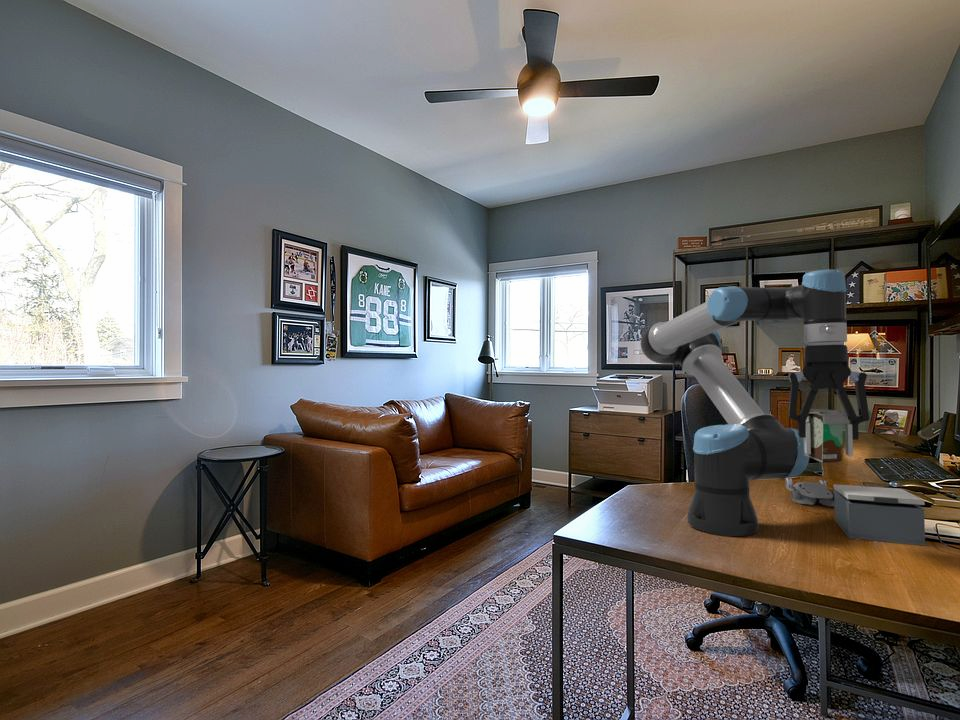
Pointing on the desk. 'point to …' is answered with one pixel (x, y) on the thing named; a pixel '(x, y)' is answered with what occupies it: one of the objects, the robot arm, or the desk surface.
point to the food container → (826, 435)
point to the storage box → (880, 520)
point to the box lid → (878, 494)
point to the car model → (811, 493)
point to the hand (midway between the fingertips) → (828, 454)
